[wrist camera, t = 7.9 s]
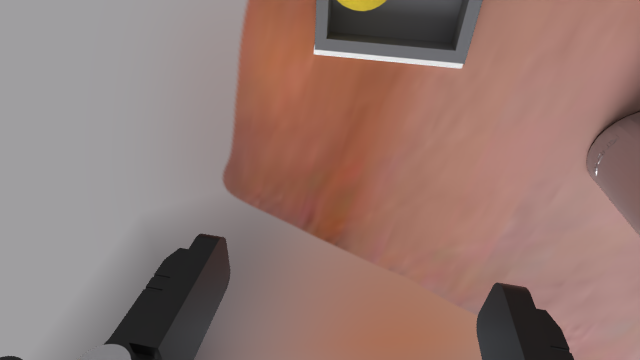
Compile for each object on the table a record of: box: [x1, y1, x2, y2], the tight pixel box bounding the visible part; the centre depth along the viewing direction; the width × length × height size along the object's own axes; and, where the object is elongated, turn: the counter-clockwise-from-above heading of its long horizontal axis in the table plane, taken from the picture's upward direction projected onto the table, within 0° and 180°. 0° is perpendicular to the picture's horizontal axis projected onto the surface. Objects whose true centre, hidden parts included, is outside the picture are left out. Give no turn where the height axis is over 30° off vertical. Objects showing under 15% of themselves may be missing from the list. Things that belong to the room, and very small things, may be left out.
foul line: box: [314, 45, 463, 68], centre depth 34 cm, size 14×1×1 cm, turn 88°
